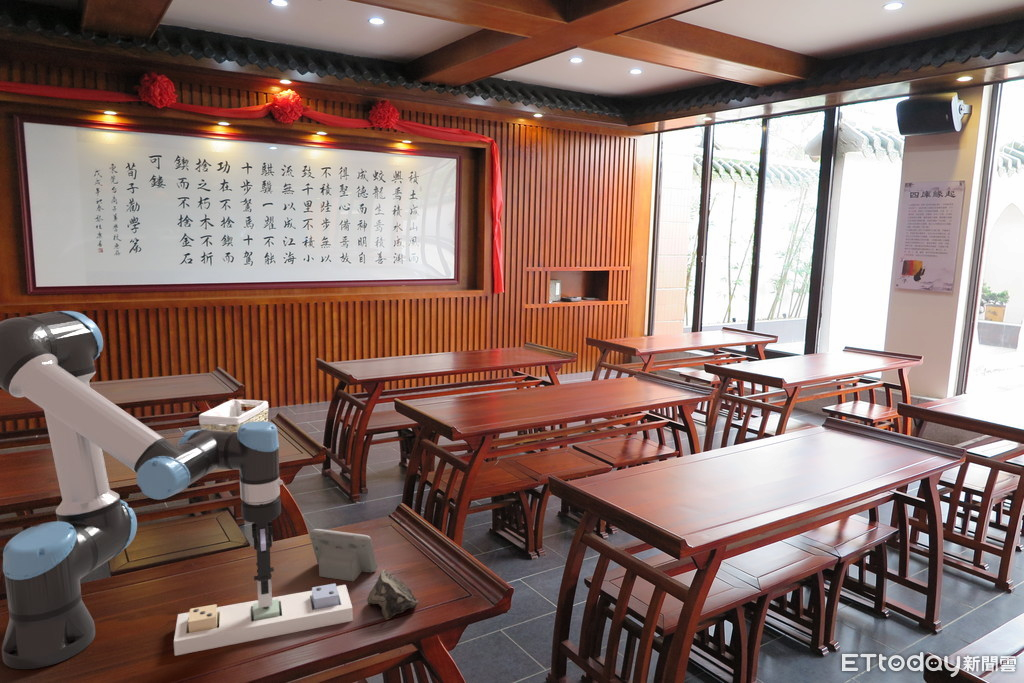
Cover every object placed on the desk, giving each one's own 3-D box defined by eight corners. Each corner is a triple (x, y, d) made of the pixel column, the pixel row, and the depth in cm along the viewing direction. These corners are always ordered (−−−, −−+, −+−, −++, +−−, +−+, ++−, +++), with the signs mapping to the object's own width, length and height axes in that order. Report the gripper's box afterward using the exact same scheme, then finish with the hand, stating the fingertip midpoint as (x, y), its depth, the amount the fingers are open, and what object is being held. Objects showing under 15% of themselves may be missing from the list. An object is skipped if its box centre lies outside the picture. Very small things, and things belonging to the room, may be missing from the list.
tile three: (189, 638, 133) (188, 621, 132) (191, 624, 137) (189, 608, 137) (216, 633, 135) (215, 616, 134) (217, 620, 139) (216, 603, 139)
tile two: (314, 614, 142) (314, 598, 141) (312, 602, 146) (311, 587, 146) (339, 610, 144) (338, 594, 143) (335, 598, 148) (335, 582, 148)
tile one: (254, 632, 138) (253, 615, 137) (253, 619, 142) (253, 603, 142) (280, 627, 139) (279, 611, 139) (278, 614, 144) (278, 598, 143)
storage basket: (240, 456, 243) (238, 416, 241) (198, 453, 246) (196, 414, 243) (271, 436, 267) (270, 400, 264) (233, 434, 269) (231, 398, 266)
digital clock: (381, 571, 164) (380, 530, 162) (358, 588, 155) (357, 545, 154) (328, 556, 170) (327, 517, 168) (304, 572, 162) (302, 531, 160)
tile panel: (174, 655, 130) (173, 641, 129) (179, 627, 139) (178, 614, 139) (352, 620, 142) (352, 607, 142) (346, 596, 152) (345, 584, 151)
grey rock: (430, 603, 149) (414, 574, 143) (401, 637, 143) (383, 608, 138) (399, 584, 156) (383, 556, 151) (370, 615, 151) (352, 587, 145)
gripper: (282, 508, 132) (286, 618, 136) (278, 484, 144) (282, 586, 147) (241, 513, 129) (246, 625, 133) (240, 488, 141) (245, 592, 145)
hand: (265, 604), depth 140 cm, fingers closed
